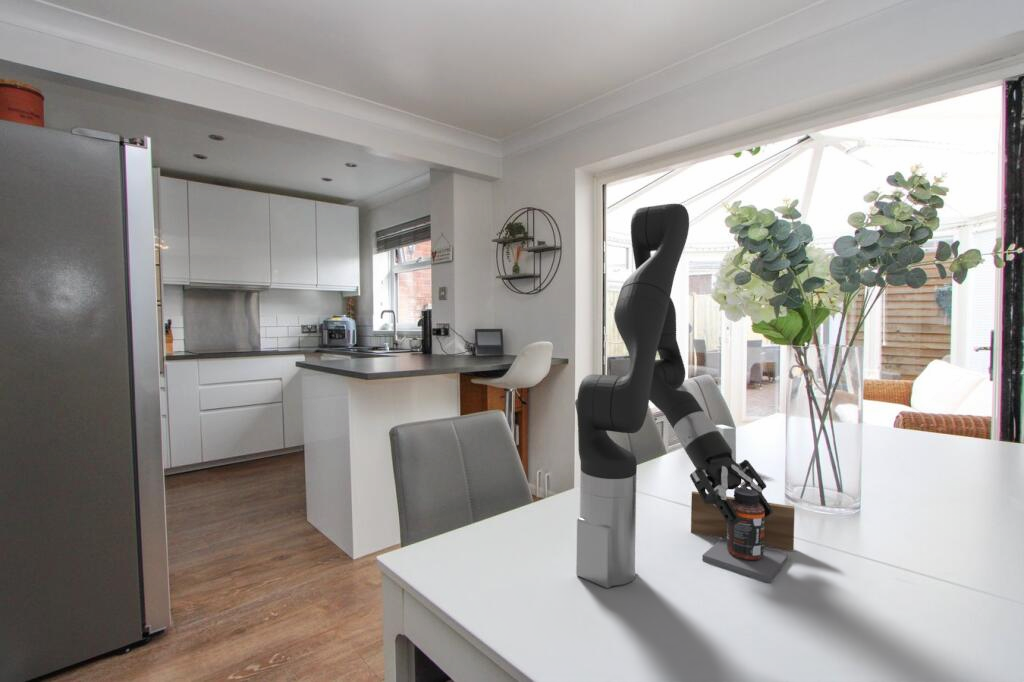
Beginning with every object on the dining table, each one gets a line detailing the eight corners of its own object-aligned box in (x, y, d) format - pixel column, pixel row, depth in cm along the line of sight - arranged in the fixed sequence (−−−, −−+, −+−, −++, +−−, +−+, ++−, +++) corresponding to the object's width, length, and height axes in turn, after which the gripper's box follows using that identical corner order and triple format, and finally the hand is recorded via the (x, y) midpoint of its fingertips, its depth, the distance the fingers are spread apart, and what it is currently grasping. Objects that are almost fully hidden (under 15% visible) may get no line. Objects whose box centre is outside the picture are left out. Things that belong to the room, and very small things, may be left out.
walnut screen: (793, 551, 90) (794, 508, 90) (690, 532, 98) (691, 493, 98) (792, 548, 91) (794, 506, 91) (691, 530, 99) (692, 491, 99)
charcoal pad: (770, 583, 79) (770, 577, 78) (702, 560, 86) (702, 554, 86) (788, 559, 87) (788, 554, 87) (724, 540, 94) (725, 535, 94)
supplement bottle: (768, 563, 83) (770, 498, 83) (731, 560, 84) (732, 495, 84) (757, 548, 89) (759, 487, 88) (723, 545, 90) (724, 484, 90)
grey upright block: (736, 468, 143) (737, 428, 142) (723, 469, 142) (724, 428, 142) (723, 463, 149) (724, 424, 148) (710, 464, 148) (711, 424, 148)
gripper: (685, 433, 89) (738, 516, 79) (738, 426, 96) (793, 503, 86) (664, 454, 94) (711, 535, 84) (715, 447, 101) (765, 521, 91)
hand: (752, 519), depth 85 cm, fingers open, 8 cm apart
